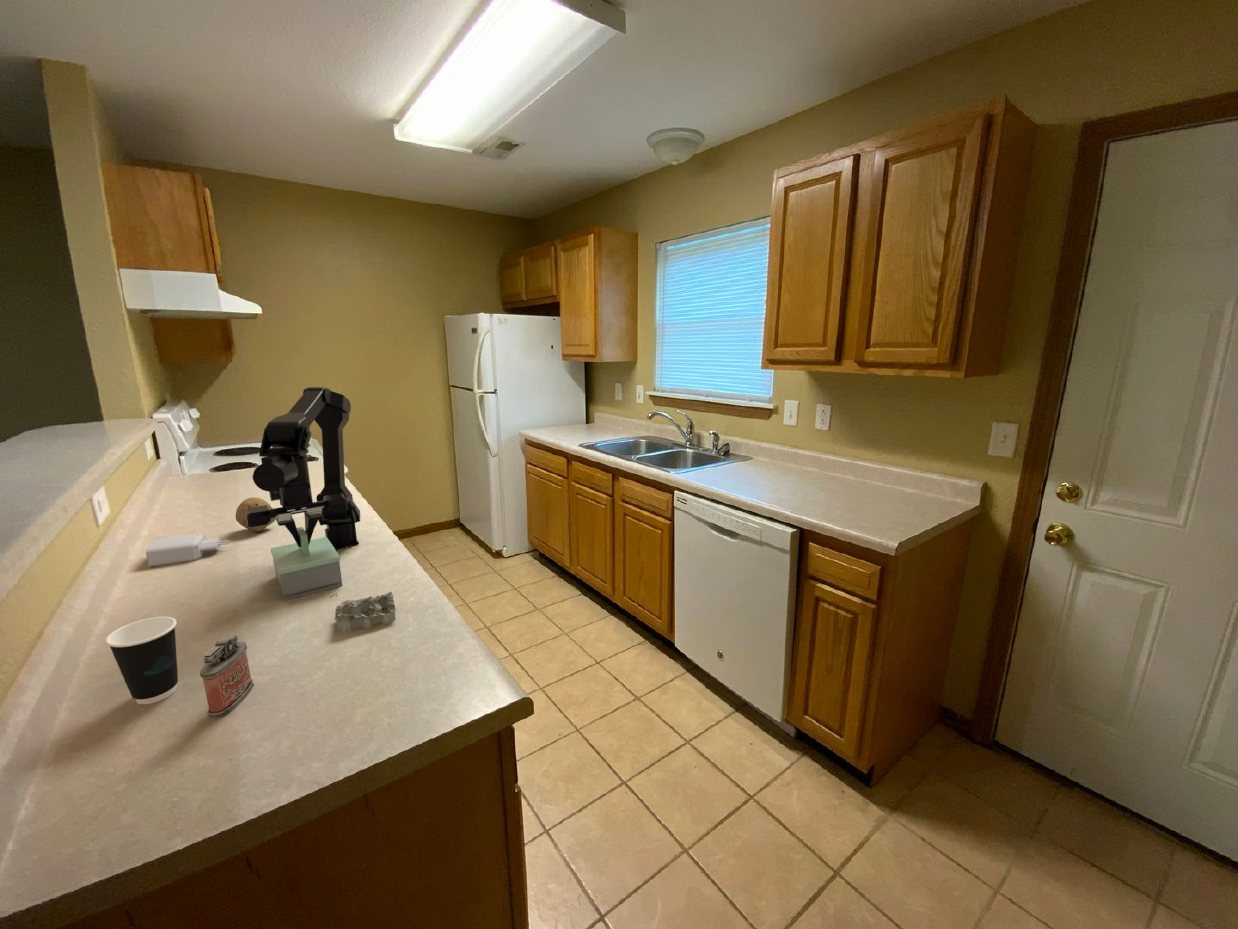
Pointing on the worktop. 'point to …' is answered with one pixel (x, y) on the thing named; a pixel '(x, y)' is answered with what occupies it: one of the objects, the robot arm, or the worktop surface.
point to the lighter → (226, 676)
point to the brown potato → (248, 504)
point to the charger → (180, 549)
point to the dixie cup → (147, 657)
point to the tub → (309, 580)
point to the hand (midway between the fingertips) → (303, 545)
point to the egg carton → (351, 611)
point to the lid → (304, 554)
